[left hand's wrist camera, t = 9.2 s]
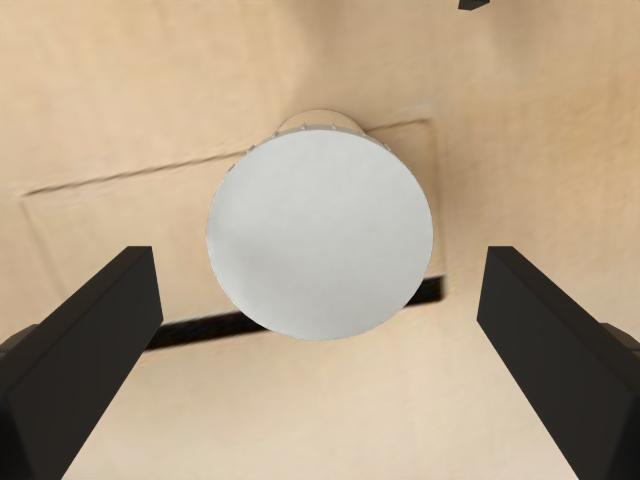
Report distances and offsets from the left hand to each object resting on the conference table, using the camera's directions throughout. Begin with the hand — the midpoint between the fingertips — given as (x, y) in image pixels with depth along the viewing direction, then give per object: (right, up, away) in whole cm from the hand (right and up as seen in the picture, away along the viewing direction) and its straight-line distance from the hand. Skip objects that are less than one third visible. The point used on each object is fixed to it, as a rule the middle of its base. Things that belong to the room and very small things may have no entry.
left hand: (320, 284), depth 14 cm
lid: (0, +1, +3) cm, 4 cm away
